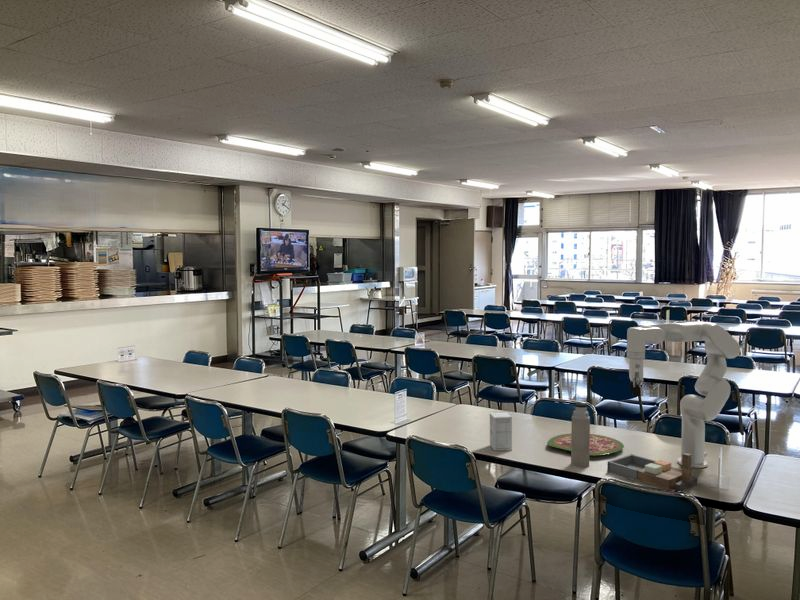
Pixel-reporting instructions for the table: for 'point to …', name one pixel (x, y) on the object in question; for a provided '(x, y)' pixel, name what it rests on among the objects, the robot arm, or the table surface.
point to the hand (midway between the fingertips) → (635, 393)
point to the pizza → (597, 444)
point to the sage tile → (653, 468)
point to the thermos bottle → (580, 437)
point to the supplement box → (500, 431)
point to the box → (628, 466)
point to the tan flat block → (661, 478)
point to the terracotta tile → (663, 464)
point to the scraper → (686, 474)
